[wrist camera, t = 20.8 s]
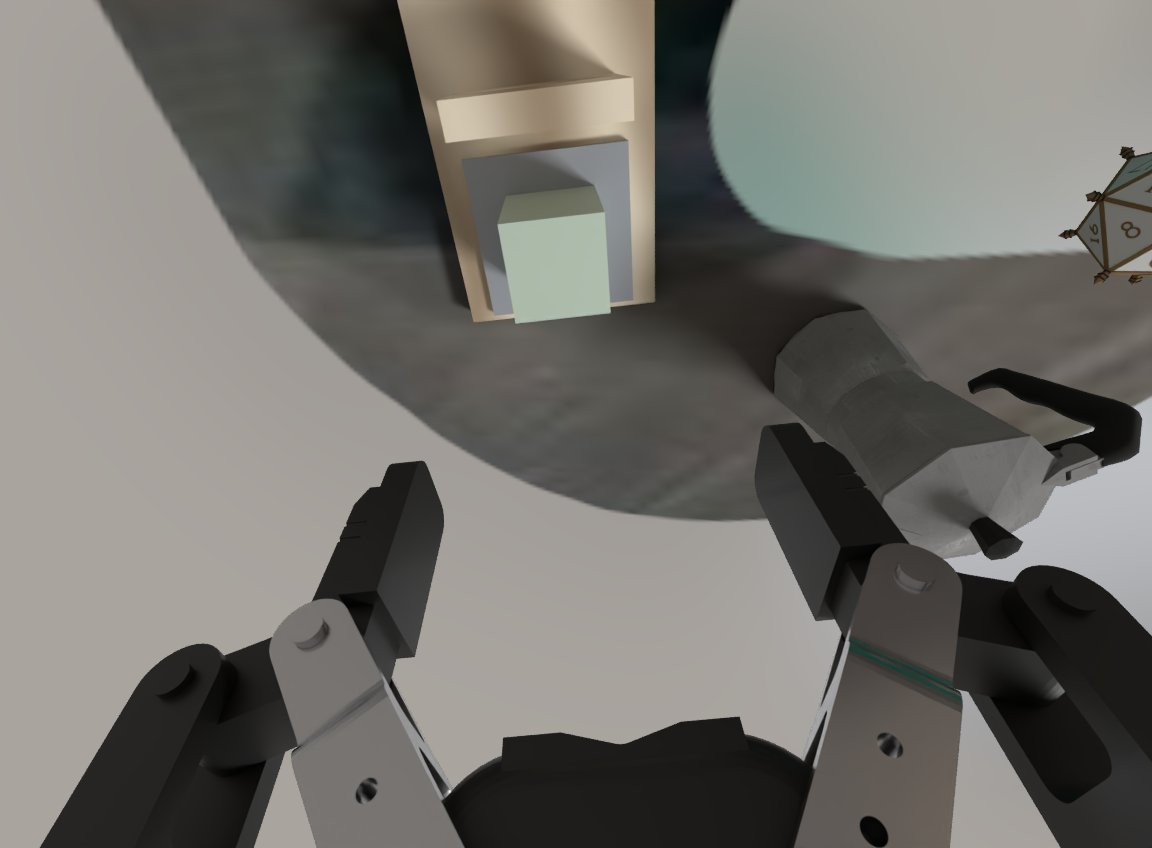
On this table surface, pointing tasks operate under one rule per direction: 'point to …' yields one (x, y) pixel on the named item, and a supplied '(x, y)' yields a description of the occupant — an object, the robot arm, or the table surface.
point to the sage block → (555, 254)
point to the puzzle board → (536, 101)
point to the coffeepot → (941, 435)
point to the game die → (1121, 221)
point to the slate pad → (546, 173)
